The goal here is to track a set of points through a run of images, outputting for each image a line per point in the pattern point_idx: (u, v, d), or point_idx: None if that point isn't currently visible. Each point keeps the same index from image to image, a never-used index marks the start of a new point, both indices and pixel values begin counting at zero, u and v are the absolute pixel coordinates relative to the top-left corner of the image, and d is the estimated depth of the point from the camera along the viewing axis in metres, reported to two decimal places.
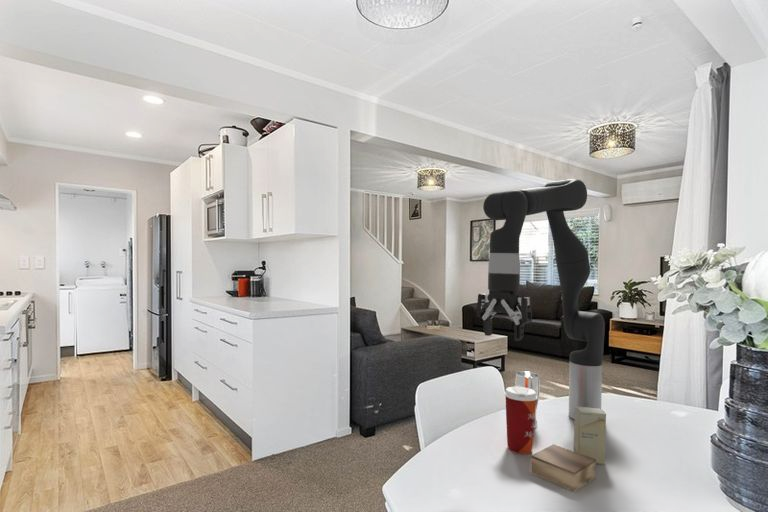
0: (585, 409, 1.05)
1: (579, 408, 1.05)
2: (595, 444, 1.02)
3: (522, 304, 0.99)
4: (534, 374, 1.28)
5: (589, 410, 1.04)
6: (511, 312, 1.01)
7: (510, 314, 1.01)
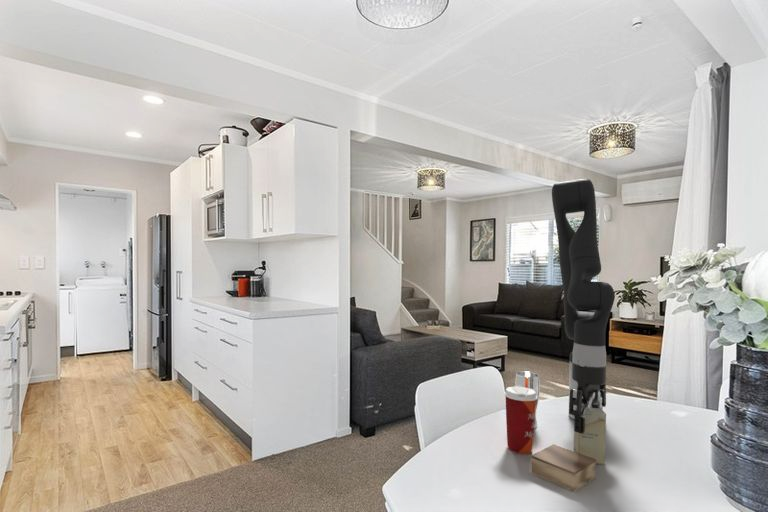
0: None
1: None
2: (595, 444, 1.02)
3: (604, 390, 1.07)
4: (534, 374, 1.28)
5: (589, 410, 1.04)
6: (601, 400, 1.05)
7: (601, 403, 1.05)
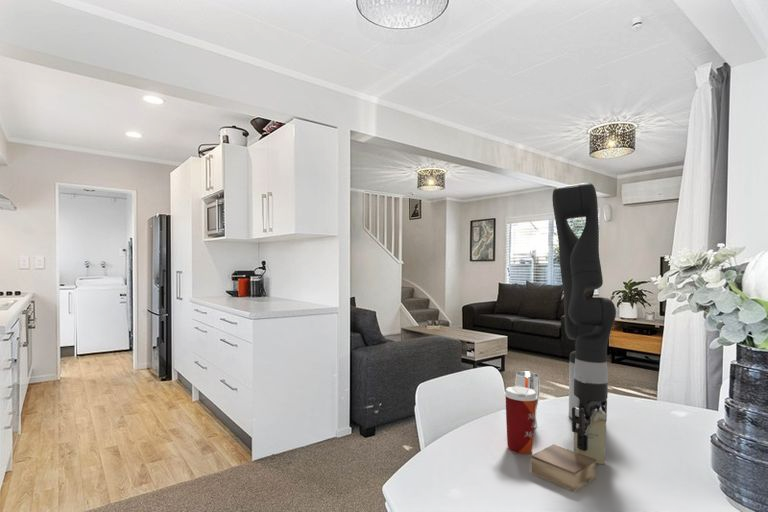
0: None
1: None
2: (595, 444, 1.02)
3: (605, 406, 1.07)
4: (534, 374, 1.28)
5: None
6: None
7: None
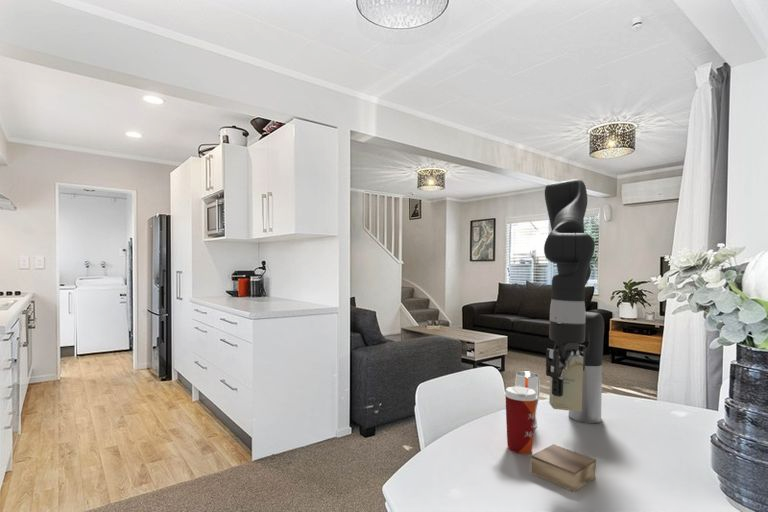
0: None
1: None
2: (571, 390, 0.94)
3: (583, 352, 1.00)
4: (534, 374, 1.28)
5: None
6: None
7: None
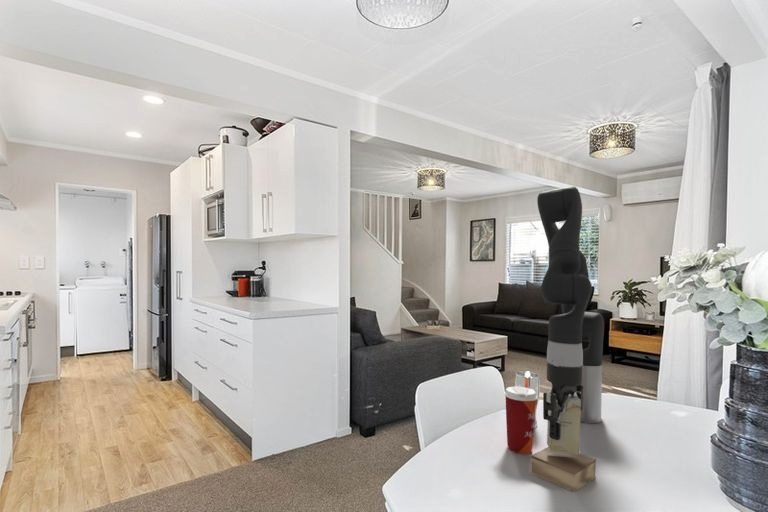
0: None
1: None
2: (569, 432, 0.94)
3: (581, 392, 0.99)
4: (534, 374, 1.28)
5: None
6: None
7: None
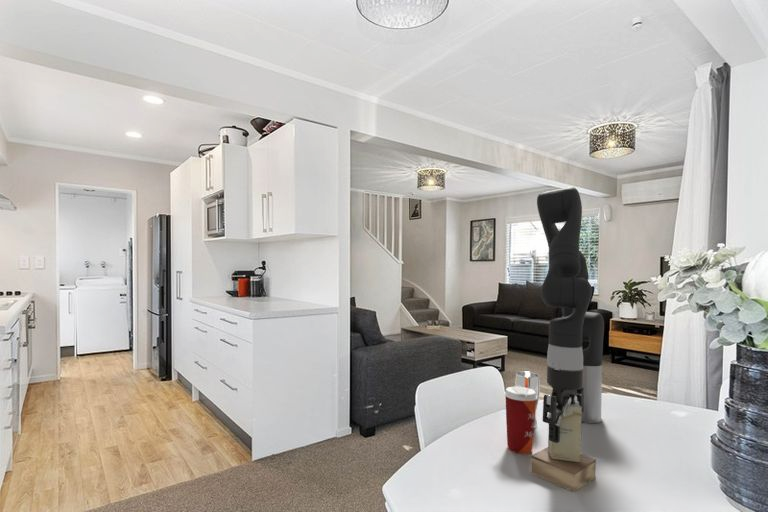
0: None
1: None
2: (570, 440, 0.94)
3: (582, 394, 0.99)
4: (534, 374, 1.28)
5: None
6: None
7: None
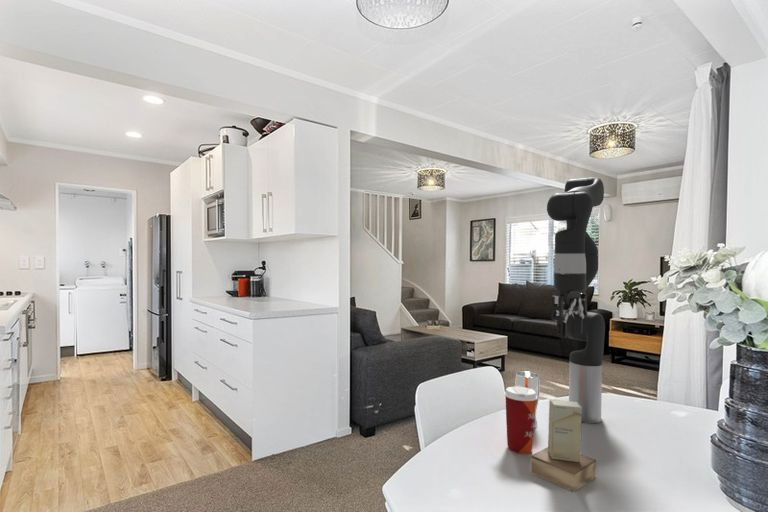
0: (560, 402, 0.97)
1: (553, 401, 0.97)
2: (570, 440, 0.94)
3: (585, 299, 1.11)
4: (534, 374, 1.28)
5: (564, 403, 0.96)
6: (582, 308, 1.09)
7: (582, 310, 1.09)
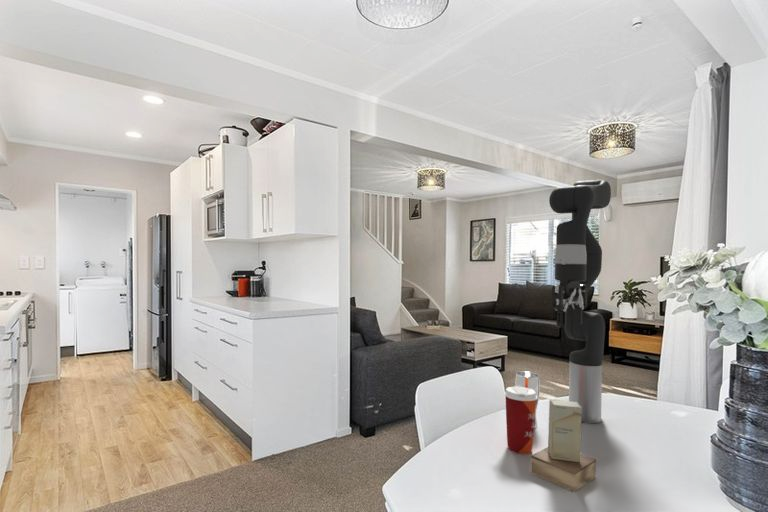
0: (560, 402, 0.97)
1: (553, 401, 0.97)
2: (570, 440, 0.94)
3: (585, 291, 1.13)
4: (534, 374, 1.28)
5: (564, 403, 0.96)
6: (582, 299, 1.11)
7: (582, 301, 1.11)
